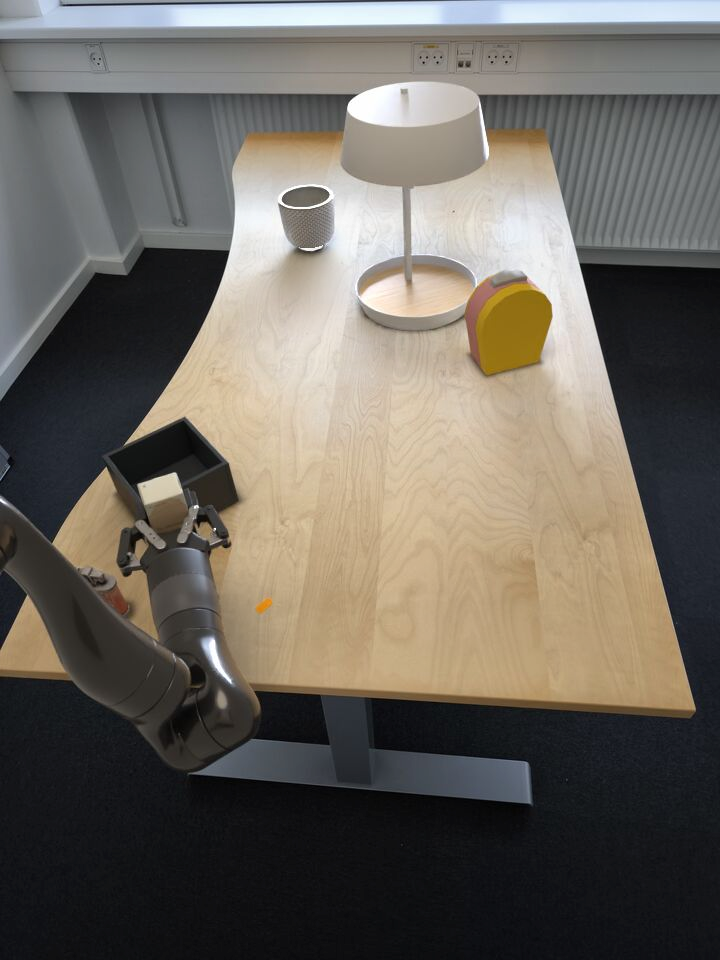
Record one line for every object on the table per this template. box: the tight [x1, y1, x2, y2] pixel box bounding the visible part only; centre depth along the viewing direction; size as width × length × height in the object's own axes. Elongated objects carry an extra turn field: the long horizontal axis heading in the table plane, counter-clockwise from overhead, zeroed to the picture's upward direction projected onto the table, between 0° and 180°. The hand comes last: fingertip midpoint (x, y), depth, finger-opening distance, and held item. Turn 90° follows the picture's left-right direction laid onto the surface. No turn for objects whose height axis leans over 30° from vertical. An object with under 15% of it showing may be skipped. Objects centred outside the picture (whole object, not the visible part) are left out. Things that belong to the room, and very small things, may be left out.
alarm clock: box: [464, 268, 553, 376], centre depth 142 cm, size 15×8×18 cm, turn 108°
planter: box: [277, 184, 336, 248], centre depth 184 cm, size 14×14×13 cm
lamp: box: [339, 81, 490, 332], centre depth 151 cm, size 29×29×43 cm
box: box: [137, 473, 188, 534], centre depth 95 cm, size 5×4×11 cm
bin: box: [101, 416, 239, 528], centre depth 123 cm, size 16×16×9 cm
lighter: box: [75, 565, 132, 619], centre depth 107 cm, size 8×3×10 cm, turn 80°
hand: (165, 499), depth 96 cm, fingers closed on box, 5 cm apart
